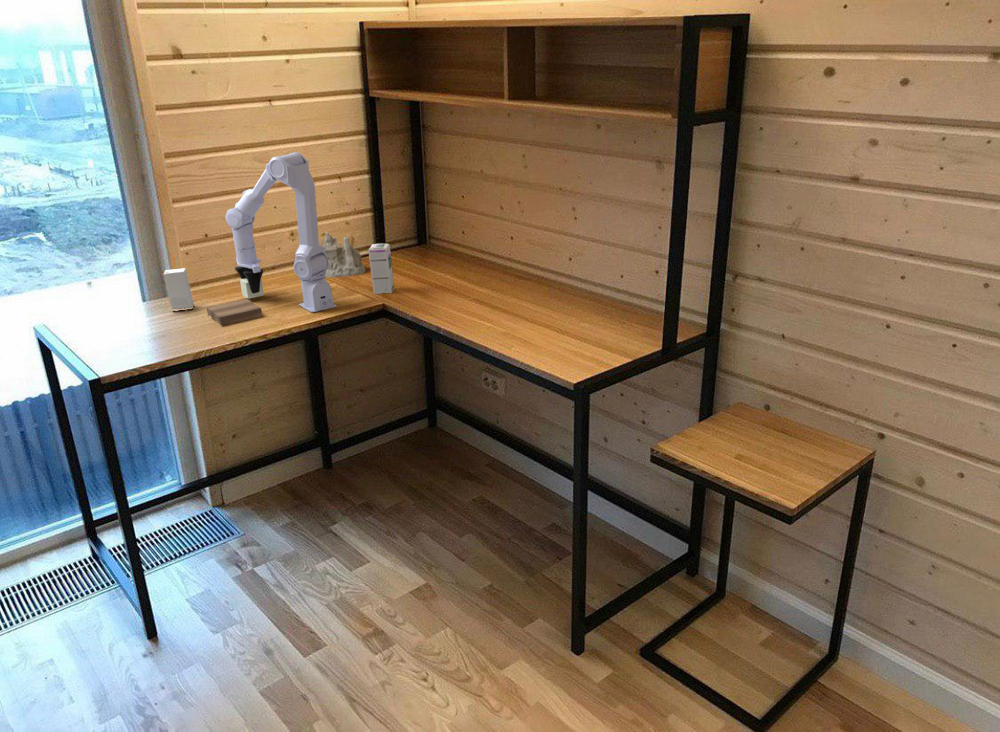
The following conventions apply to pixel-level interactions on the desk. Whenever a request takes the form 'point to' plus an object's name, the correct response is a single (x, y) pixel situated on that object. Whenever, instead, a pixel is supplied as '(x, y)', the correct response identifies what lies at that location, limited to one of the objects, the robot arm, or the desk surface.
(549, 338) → the desk surface
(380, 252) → the syrup box
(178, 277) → the skincare box
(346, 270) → the rocky castle sculpture
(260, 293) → the white block
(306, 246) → the robot arm
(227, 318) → the walnut box
